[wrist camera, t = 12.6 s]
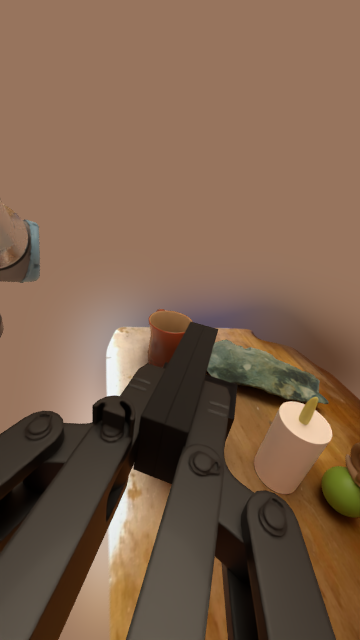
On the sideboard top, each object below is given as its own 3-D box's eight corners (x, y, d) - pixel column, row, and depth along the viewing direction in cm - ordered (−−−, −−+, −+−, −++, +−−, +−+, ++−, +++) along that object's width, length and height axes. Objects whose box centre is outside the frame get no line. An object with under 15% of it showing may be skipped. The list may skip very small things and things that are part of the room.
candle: (306, 474, 36) (358, 400, 29) (284, 504, 32) (339, 427, 25) (268, 441, 40) (306, 369, 33) (245, 465, 36) (282, 387, 29)
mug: (190, 374, 51) (201, 332, 46) (149, 379, 48) (155, 334, 43) (172, 341, 61) (178, 303, 56) (136, 343, 57) (140, 303, 53)
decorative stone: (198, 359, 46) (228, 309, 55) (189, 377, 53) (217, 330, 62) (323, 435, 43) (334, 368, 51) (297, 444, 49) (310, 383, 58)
